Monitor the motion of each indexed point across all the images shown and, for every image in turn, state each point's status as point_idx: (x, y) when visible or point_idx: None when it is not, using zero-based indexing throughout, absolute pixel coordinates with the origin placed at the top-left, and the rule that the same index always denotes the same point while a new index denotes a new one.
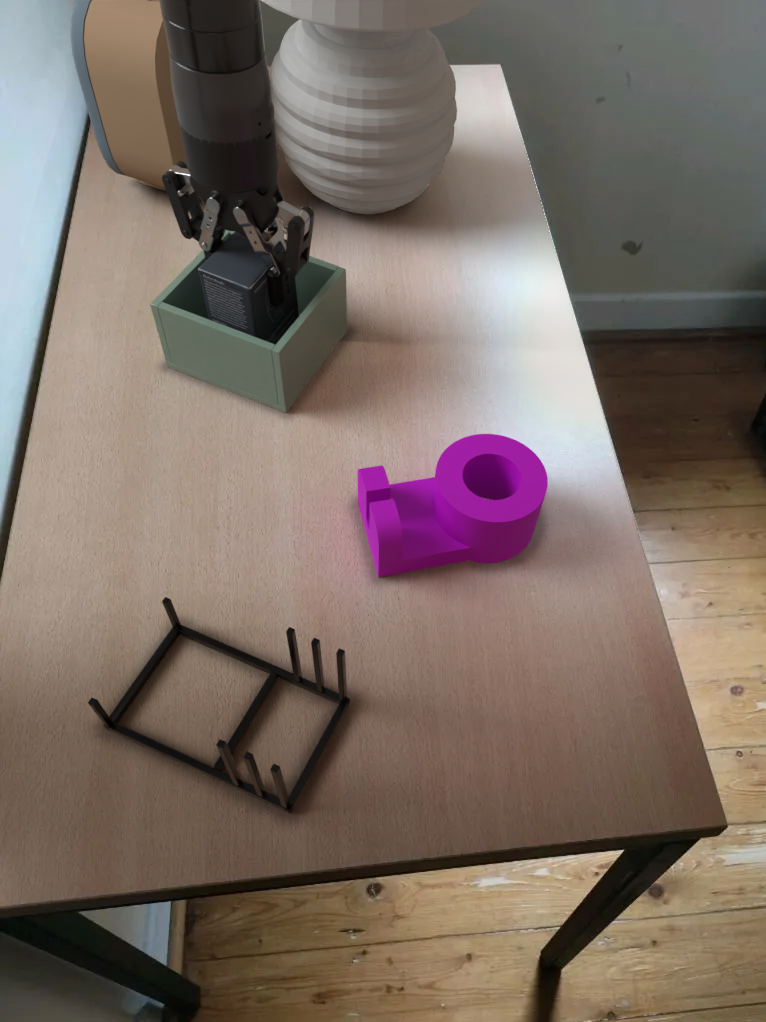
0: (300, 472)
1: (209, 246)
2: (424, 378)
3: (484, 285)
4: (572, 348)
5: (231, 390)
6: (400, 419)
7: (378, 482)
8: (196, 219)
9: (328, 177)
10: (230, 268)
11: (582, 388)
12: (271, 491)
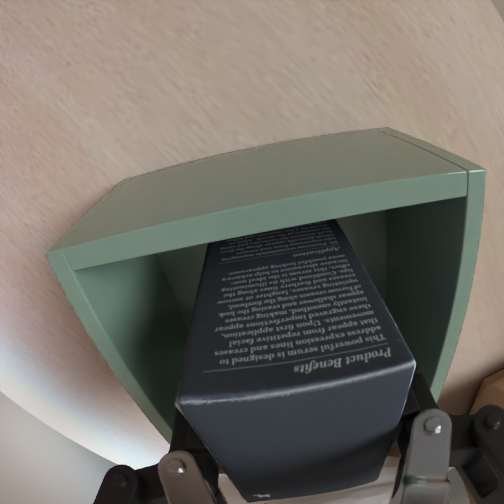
0: (23, 106)
1: (416, 434)
2: (67, 350)
3: (152, 453)
4: (46, 423)
5: (240, 150)
6: (25, 283)
7: None
8: (474, 459)
9: (343, 497)
10: (308, 424)
11: (5, 393)
12: (29, 46)
